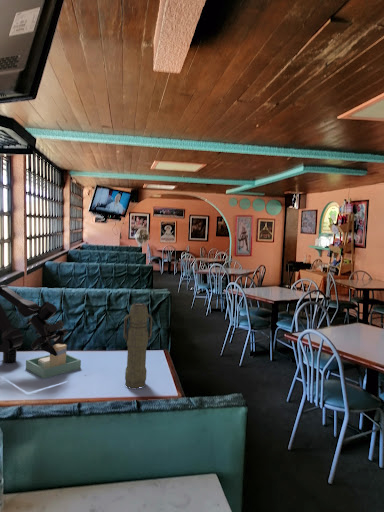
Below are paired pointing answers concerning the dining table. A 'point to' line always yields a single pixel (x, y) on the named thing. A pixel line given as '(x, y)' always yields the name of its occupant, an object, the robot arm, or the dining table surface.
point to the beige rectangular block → (44, 362)
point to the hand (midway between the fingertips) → (60, 353)
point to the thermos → (137, 344)
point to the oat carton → (58, 355)
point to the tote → (70, 365)
